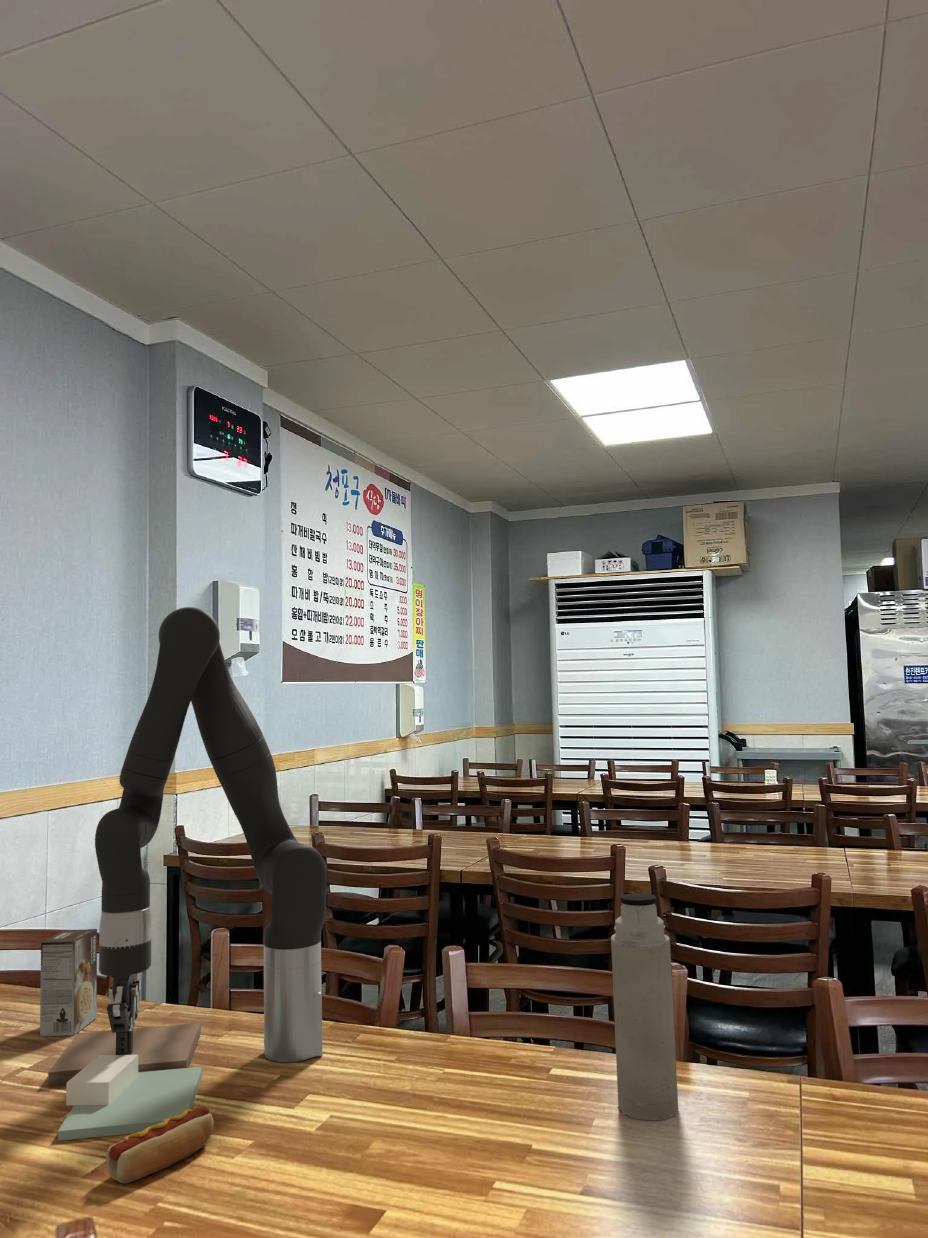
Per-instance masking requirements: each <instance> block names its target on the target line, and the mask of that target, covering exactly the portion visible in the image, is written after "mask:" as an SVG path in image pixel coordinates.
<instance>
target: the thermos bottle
mask: <svg viewBox="0 0 928 1238" xmlns="http://www.w3.org/2000/svg"><path fill="white" fill-rule="evenodd" d="M619 897H620V903H621V906H620V913H621V914H620V916H618V917H617V918H616V919H615V922H614V923H615V925H614V927H613V928H614V930H615V933H614V934H612V935H611V937H610V945H611V963H612V964H611V965H612V991H613V992H612V993H613V994H612V995H613V1013H614V1016H613V1017H614V1037H615V1039H614V1040H615V1057H616V1059H615V1060H616V1061H615V1062H616V1084H617V1085H616V1086H617V1104H618V1105H617V1106H618V1108H619V1111H620V1112H622V1114H624V1115H626V1116H628V1117H630V1118H632V1119H638V1120H642V1121H662V1120H666V1119H670V1118H672V1117H674V1116H675V1115H676V1114H677V1113H678V1111H679V1096H678V1095H679V1094H678V1079H677V1078H678V1076H677V1056H676V1040H675V1039H676V1037H675V1034H676V1033H675V1019H674V1017H675V1016H674V1003H673V1002H674V999H673V997H674V996H673V978H672V960H671V959H672V958H671V957H672V956H671V942H670V941H671V940H670V937H669V936H668V935H667V934H665V928H666V926H665V924H664V920H663V919H662V918H661V917H659V916H658V912H657V909H658V908H657V906H656V904H657V897H656V896H655V895H654V894H651V893H650V894H649V893H640V892H638V893H637V892H635V893H633V892H632V893H625V894H622V895H620V896H619Z"/></svg>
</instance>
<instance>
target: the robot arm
mask: <svg viewBox="0 0 928 1238" xmlns="http://www.w3.org/2000/svg"><path fill="white" fill-rule="evenodd" d="M220 640H221V633H220V628H219V625H218V623H217V621H216V619H215V617H213V616H212V615H211V614H210V613H209V612H207V611H205V610H204V609H201V608H198V607H193V606H192V607H191V606H190V607H189V606H186V607H181V608H178V609H176V610H174V611H173V610H172V612H170V613H169V614H167V615H166V616H165V618H164V619H163V621H162V622H161V624H160V626H159V629H158V642H159V647H158V648H159V649H158V654H157V655H158V656H157V660H156V661H157V663H156V669H155V673H154V677H153V681H152V685H151V688H150V692H149V694H148V697H147V700H146V703H145V705H144V707H143V710H142V711H141V712H142V713H141V715H140V718H139V720H138V722H137V724H136V726H135V730H134V732H133V734H132V737H131V740H130V742H129V746H128V749H127V751H126V755H125V757H124V761H123V764H122V768H121V770H120V774H119V775H120V776H119V785H120V786H121V788H123V789H122V793H121V794H122V795H121V799H120V801H119V802H120V803H119V806H118V808H115V809H112V810H110V811H108V812H106V813H105V814H104V815H102V817H101V818H100V819H99V821H98V823H97V826H96V830H95V835H94V849H95V854H96V860H97V864H98V866H97V867H98V870H99V874H100V879H101V906H100V907H101V911H100V914H101V915H100V920H99V929H98V931H99V933H98V936H99V937H98V939H99V941H98V943H99V944H98V945H99V946H98V972H99V973H100V975H103V976H104V977H105V976H106V977H111V978H112V980H113V981H112V986H109V988H108V999H109V1001H110V1003H109V1004H107V1007H106V1011H107V1016H108V1020H109V1026H110V1030H111V1031H112V1033H116V1055H131V1054H132V1052H133V1028H135V1026H136V1020H138V1018H139V1017H138V1016H139V1014H138V1013H139V1011H138V1010H139V1008H140V1007H139V1006H140V1005H139V1004H140V995H141V989H142V986H143V985H142V982H141V979H138V974H141V973H144V972H145V971H147V970H149V969H150V967H151V966H152V914H151V907H150V906H151V901H150V900H151V880H150V874H149V871H148V870H146V869H145V868H143V865H142V864H143V863H142V853H141V852H142V851H141V850H142V848H145V847H146V846H147V845H148V844H149V843H150V842H151V841H152V839H153V838H154V837H155V835H156V832H157V829H158V827H159V823H160V819H161V815H162V807H163V803H164V802H163V801H164V790H165V786H166V783H167V781H168V777H169V775H170V771H171V769H172V765H173V763H174V760H175V757H176V753H177V749H178V746H179V744H180V743H179V742H180V738H181V735H182V731H183V728H184V724H185V722H186V721H185V720H186V718H187V713H188V710H189V706H190V704H191V706H192V708H193V711H194V716H195V717H194V718H195V720H196V724H197V728H198V730H199V734H200V736H201V739H202V743H203V746H204V749H205V752H206V754H207V756H208V759H209V762H210V764H211V766H212V768H213V771H214V773H215V775H216V777H217V779H218V782H219V784H220V786H221V788H222V790H223V792H224V795H225V796H226V799H227V800H228V803H229V805H230V807H231V810H232V811H233V814H234V816H235V817H236V820H238V823H239V825H240V827H241V830H242V832H243V835H244V837H245V841H246V844H247V847H248V850H249V854H250V857H251V861H252V864H253V867H254V870H255V873H256V877H257V880H258V881H259V884H260V885H261V887H262V888H263V889H264V890H265V892H267V893H269V894H270V895H272V896H271V897H272V899H271V900H272V901H271V902H272V903H271V918H270V922H268V923H267V924H266V925H265V927H264V929H263V1016H264V1017H263V1022H264V1023H263V1024H264V1025H263V1027H264V1028H263V1034H264V1036H263V1045H264V1049H263V1050H264V1057H265V1058H266V1059H268V1060H270V1061H273V1062H278V1063H293V1062H300V1061H305V1060H308V1059H309V1060H310V1059H312V1058H314V1057H321V1056H323V1006H322V1005H323V1003H322V1002H323V1001H322V999H323V997H322V996H323V995H322V994H323V991H322V987H323V986H322V929H323V926H324V924H325V920H326V909H327V908H326V905H327V904H326V903H327V902H326V901H327V871H326V870H327V869H326V865H325V864H326V863H325V861H324V858H323V856H322V854H321V853H320V852H319V850H317V849H316V848H315V847H313V846H311V845H308V844H305V843H300V842H298V840H297V839H296V836H295V835H294V833H293V831H292V829H291V828H290V826H289V823H288V822H287V819H286V817H285V816H284V813H283V810H282V807H281V803H280V800H279V799H280V798H279V790H278V788H279V787H278V777H277V772H276V766H275V762H274V759H273V756H272V755H273V754H272V753H271V750H270V748H269V746H268V743H267V741H266V738H265V736H264V734H263V732H262V730H261V728H260V726H259V724H258V722H257V719H256V717H255V716H254V715H253V713H252V710H251V709H250V707H249V706H248V704H247V702H246V700H245V699H244V698H243V696H242V695H241V692H240V691H239V690H238V688H237V686H236V683H235V682H234V681H233V678H232V676H231V674H230V671H229V669H228V665H227V661H226V660H225V655H224V653H223V649H222V646H221V643H220Z"/></svg>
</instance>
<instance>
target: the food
mask: <svg viewBox="0 0 928 1238" xmlns="http://www.w3.org/2000/svg"><path fill="white" fill-rule="evenodd" d="M210 1110H211V1109H210V1107H208V1106H207V1105H205V1106H204V1105H203V1106H201V1107H197V1108H196V1107H195V1108H192V1109H187V1110H185V1111H184V1112H183V1114H181V1115H178V1116H173V1117H171V1118H168V1119H166V1120H164V1121H163V1122H161V1123H159V1124H156V1125H153V1126H150V1127H148V1128H146V1129H144V1131H142V1132H138V1133H131V1134H128V1135H126V1136H124V1137H123V1140H121V1141H118V1142H116V1143H114V1144H112V1145H110V1146H109V1147H108V1149H107V1150H106V1151H105V1163H106V1169H107V1171H108V1174H109V1176H110V1177H111V1179H112V1180H114V1181H116V1182H118V1183H121V1184H131V1183H132V1182H135V1181H137V1180H140V1179H143V1178H145V1177H147V1176H150V1175H152V1174H155V1173H156V1172H159V1171H162V1170H164V1169H166V1168H169V1167H171V1166H172V1165H174V1164H176V1163H179V1162H180V1161H182V1160H184V1159H186V1158H188V1157H190V1156H192V1155H193V1154H194V1153H196V1152H198V1150H199V1149H200V1150H201V1148H203V1147H204V1146H205V1145H206V1144H207V1143H208V1141H209V1139H210V1138H211V1136H212V1134H213V1131H214V1125H215V1123H214V1121H215V1120H214V1118H213V1115H212V1113H211V1112H210Z"/></svg>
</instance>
